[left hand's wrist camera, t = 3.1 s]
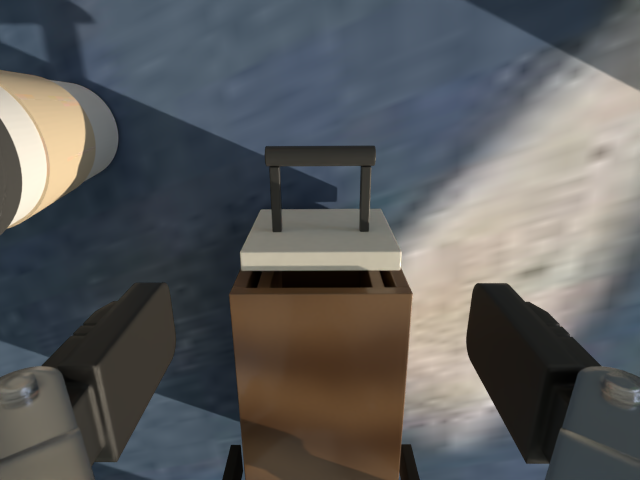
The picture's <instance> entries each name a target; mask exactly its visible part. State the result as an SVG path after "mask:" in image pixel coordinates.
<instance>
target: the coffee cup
mask: <svg viewBox="0 0 640 480" xmlns="http://www.w3.org/2000/svg"><path fill="white" fill-rule="evenodd" d="M117 147H118V129H117V125H116V122H115V119H114V117H113V115H112V113H111V111H110V109H109V108H108V106H107V105H106V104H105V103H104V101H103V100H102V99H101V98H100V97H99V96H97V95H96V94H95V93H94V92H92V91H91V90H89V89H87V88H85V87H83V86H80V85H78V84H74V83H68V82H61V81H54V80H48V79H45V78H42V77H39V76H35V75H29V74H22V73H16V72H10V71H3V70H0V235H1V234H2V233H3V232H4V231H5V230H6V229H7V228H11V227H13V226H16V225H18V224H20V223H21V222H23V221H25V220H26V219H28V218H30V217H31V216H33V215H34V214H36V213H37V212H39V211H41V210H42V209H44V208H45V207H47V206H49V205H50V204H52V203H53V202H55V201H57V200H58V199H60V198H61V197H63V196H65V195H66V194H68V193H69V192H71V191H73V190H74V189H76V188H77V187H78V186H80V185H81V184H82V183H83V182H84V181H86V180H88V179H89V178H91V177H93V176H95V175H96V174H98V173H100V172H101V171H103V170H104V169H105V168H106V167H107V166H108V165H109V164H110V163H111V161H112V160H113V158H114V156H115V154H116V151H117Z"/></svg>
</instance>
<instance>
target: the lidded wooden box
mask: <svg viewBox="0 0 640 480" xmlns="http://www.w3.org/2000/svg"><path fill="white" fill-rule="evenodd" d="M379 271H380V274H381V277H382V281H383V284H384V287H378V288H257V286H258V283H259V280H260V277H261V274H262V271H242V270H241V269H240V271H239V274H238V276H237V278H236V280H235V283H234V285H233V287H232V289H231V291H230V294H229V300H230V311H231V323H232V334H233V345H234V356H235V368H236V379H237V390H238V402H239V413H240V424H241V436H242V447H243V458H244V470H245V480H398V479H399V466H400V453H401V440H402V427H403V414H404V401H405V388H406V375H407V363H408V350H409V337H410V324H411V311H412V298H413V293H412V291H411V289H410V287H409V285H408V283H407V280H406V278H405V276H404V273H403V271H402V269H401V268H400V270H379Z"/></svg>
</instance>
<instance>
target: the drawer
mask: <svg viewBox="0 0 640 480" xmlns="http://www.w3.org/2000/svg"><path fill="white" fill-rule="evenodd" d="M375 160H376V149H375V146H266V147H265V163H266V166H270V168H269V169H270V191H271V209H261V210H260V212H259V214H258V216H257V218H256V220H255V222H254V225H253V227H252V229H251V231H250V233H249V235H248V237H247V239H246V241H245V243H244V245H243V247H242V249H241V251H240V260H241V270H242V271H262V274H261V277H260V280H259V283H258V286H257V288H378V287H384V284H383V281H382V277H381V274H380V271H379V270H400V268H401V250H400V248H399V246H398V244H397V241H396V239H395V237H394V235H393V233H392V231H391V229H390V227H389V225H388V223H387V221H386V219H385V217H384V215H383V213H382V210H381V209H370V190H371V166H374V165H375ZM280 166H361V176H360V209H282V206H281V180H280Z"/></svg>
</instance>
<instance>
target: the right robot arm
mask: <svg viewBox="0 0 640 480" xmlns="http://www.w3.org/2000/svg"><path fill="white" fill-rule="evenodd" d="M399 473H400V477H401V480H420V479H419V475H418V471H417V467H416V463H415V459H414V455H413V451H412V447H411V444H401V453H400V466H399ZM242 474H243V466H242V455H241V445H231V447H230V451H229V455H228V459H227V463H226V467H225V471H224V475H223V479H222V480H241V478H242Z"/></svg>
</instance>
